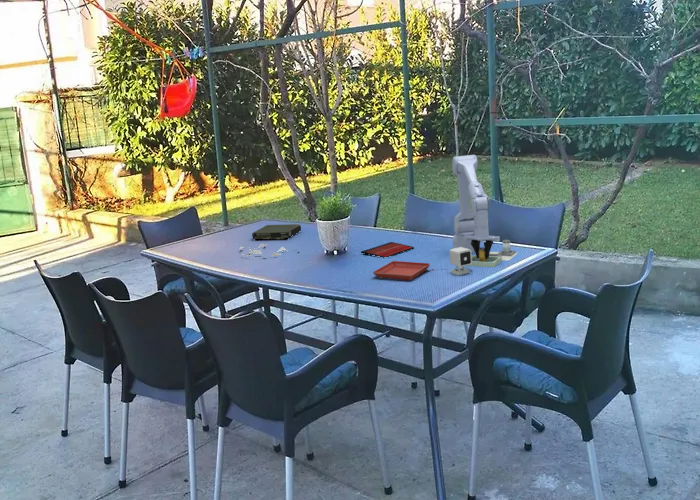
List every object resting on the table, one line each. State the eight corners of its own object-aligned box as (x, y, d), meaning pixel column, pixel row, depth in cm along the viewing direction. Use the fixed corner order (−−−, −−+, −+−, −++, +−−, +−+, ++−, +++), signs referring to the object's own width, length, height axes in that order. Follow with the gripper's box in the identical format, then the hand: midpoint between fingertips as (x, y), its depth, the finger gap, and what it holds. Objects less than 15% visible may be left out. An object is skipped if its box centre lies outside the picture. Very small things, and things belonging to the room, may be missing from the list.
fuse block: (481, 261, 294) (480, 256, 294) (491, 254, 305) (491, 249, 305) (508, 263, 288) (508, 258, 288) (518, 255, 299) (517, 250, 299)
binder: (360, 250, 326) (390, 241, 340) (360, 255, 326) (390, 246, 340) (386, 256, 314) (415, 246, 329) (386, 261, 315) (416, 250, 329)
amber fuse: (477, 263, 287) (477, 248, 286) (480, 261, 290) (480, 247, 288) (485, 263, 285) (484, 249, 284) (488, 261, 288) (487, 247, 287)
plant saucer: (411, 283, 274) (411, 275, 273) (372, 279, 284) (371, 271, 283) (431, 271, 289) (431, 263, 288) (393, 268, 298) (392, 260, 298)
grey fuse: (501, 255, 298) (501, 241, 296) (504, 253, 301) (503, 239, 299) (509, 255, 296) (508, 241, 295) (511, 253, 299) (511, 239, 298)
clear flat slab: (305, 252, 343) (304, 245, 343) (266, 263, 328) (266, 256, 327) (263, 245, 369) (262, 238, 368) (225, 255, 353) (224, 248, 352)
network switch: (250, 242, 376) (249, 233, 375) (263, 233, 399) (262, 224, 398) (292, 240, 372) (291, 231, 371) (302, 231, 395) (301, 222, 393)
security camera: (459, 276, 276) (458, 252, 274) (449, 273, 282) (448, 249, 280) (472, 273, 279) (471, 249, 276) (462, 270, 285) (461, 246, 283)
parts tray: (463, 268, 287) (463, 261, 286) (472, 262, 295) (472, 255, 295) (494, 270, 280) (494, 262, 280) (502, 263, 289) (501, 256, 288)
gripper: (460, 227, 284) (462, 259, 287) (495, 228, 277) (496, 261, 280) (467, 223, 290) (468, 255, 293) (500, 224, 283) (502, 257, 286)
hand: (482, 258), depth 287 cm, fingers closed on amber fuse, 3 cm apart
